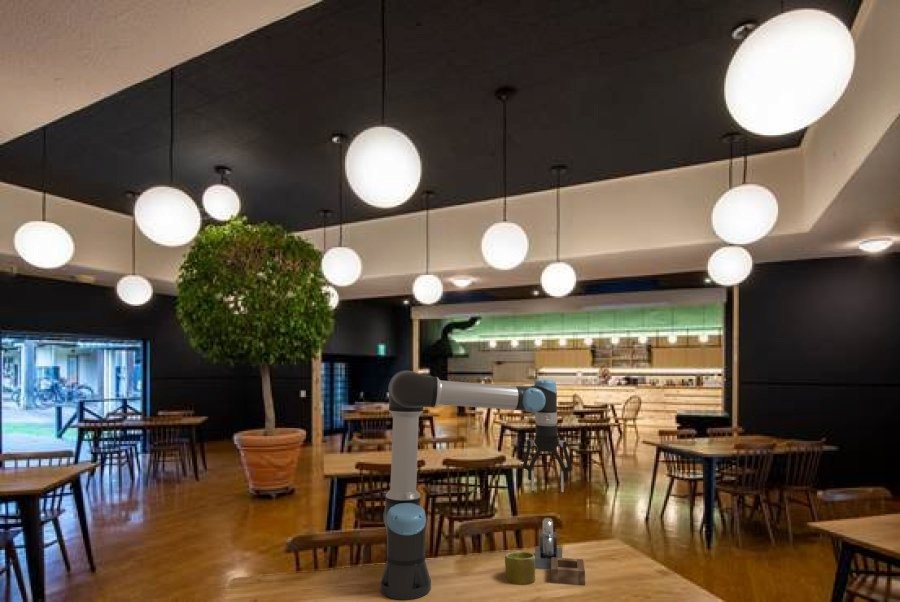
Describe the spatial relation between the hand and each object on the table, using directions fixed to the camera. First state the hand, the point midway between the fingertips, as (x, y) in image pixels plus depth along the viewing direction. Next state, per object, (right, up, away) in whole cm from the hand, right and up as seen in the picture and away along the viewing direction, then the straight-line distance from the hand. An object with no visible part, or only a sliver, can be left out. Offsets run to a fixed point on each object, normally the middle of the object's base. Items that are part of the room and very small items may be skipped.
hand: (547, 490), depth 185 cm
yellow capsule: (0, -17, -2) cm, 17 cm away
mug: (-12, -22, -18) cm, 31 cm away
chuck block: (-1, -23, -6) cm, 24 cm away
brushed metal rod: (-1, -22, -8) cm, 23 cm away
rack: (+3, -22, -18) cm, 29 cm away
